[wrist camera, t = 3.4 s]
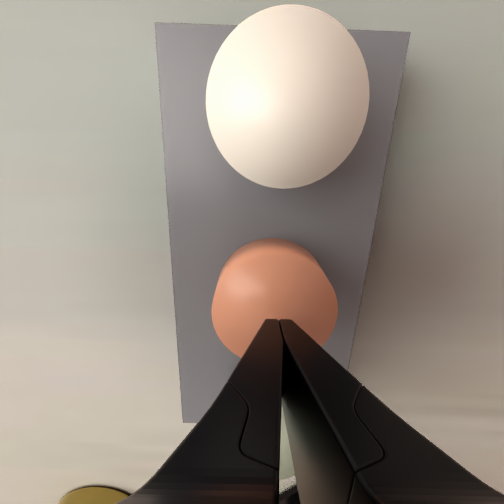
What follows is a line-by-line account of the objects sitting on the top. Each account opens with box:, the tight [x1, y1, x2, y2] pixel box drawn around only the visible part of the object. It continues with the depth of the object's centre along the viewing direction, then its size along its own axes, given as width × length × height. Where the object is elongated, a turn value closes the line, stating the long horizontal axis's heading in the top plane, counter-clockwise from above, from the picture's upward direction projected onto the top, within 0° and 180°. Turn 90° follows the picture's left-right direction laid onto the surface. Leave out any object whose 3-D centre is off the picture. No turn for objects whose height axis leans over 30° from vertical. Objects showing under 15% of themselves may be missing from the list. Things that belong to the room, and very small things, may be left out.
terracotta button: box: [211, 238, 338, 358], centre depth 10 cm, size 4×4×2 cm
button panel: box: [155, 22, 410, 423], centre depth 14 cm, size 19×9×2 cm, turn 178°
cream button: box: [206, 4, 370, 189], centre depth 8 cm, size 4×4×2 cm
